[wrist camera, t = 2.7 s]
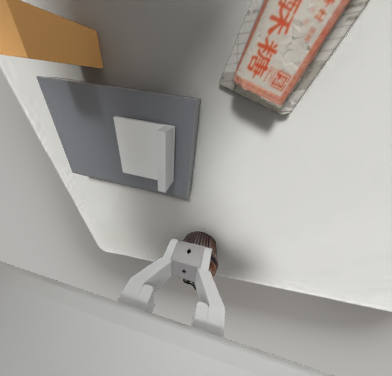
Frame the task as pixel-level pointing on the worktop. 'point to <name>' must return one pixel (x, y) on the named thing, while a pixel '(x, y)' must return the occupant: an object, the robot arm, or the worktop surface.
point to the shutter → (146, 149)
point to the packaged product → (286, 48)
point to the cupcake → (205, 241)
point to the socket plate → (106, 134)
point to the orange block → (46, 36)
